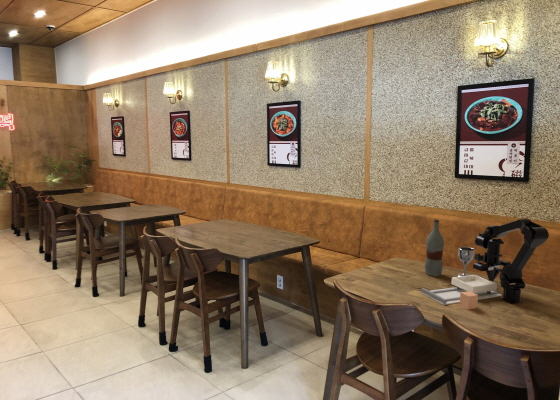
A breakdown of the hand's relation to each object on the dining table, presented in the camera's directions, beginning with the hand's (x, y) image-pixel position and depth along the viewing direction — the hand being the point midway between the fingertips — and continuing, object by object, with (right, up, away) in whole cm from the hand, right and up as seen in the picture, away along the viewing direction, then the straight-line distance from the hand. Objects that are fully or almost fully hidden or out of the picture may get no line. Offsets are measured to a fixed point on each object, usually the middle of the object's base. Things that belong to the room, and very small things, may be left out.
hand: (490, 282), depth 214 cm
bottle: (-19, 0, +25) cm, 32 cm away
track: (-17, -5, -5) cm, 18 cm away
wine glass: (-3, -1, +23) cm, 23 cm away
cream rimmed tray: (-10, -3, -3) cm, 11 cm away
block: (-20, -7, -20) cm, 29 cm away
